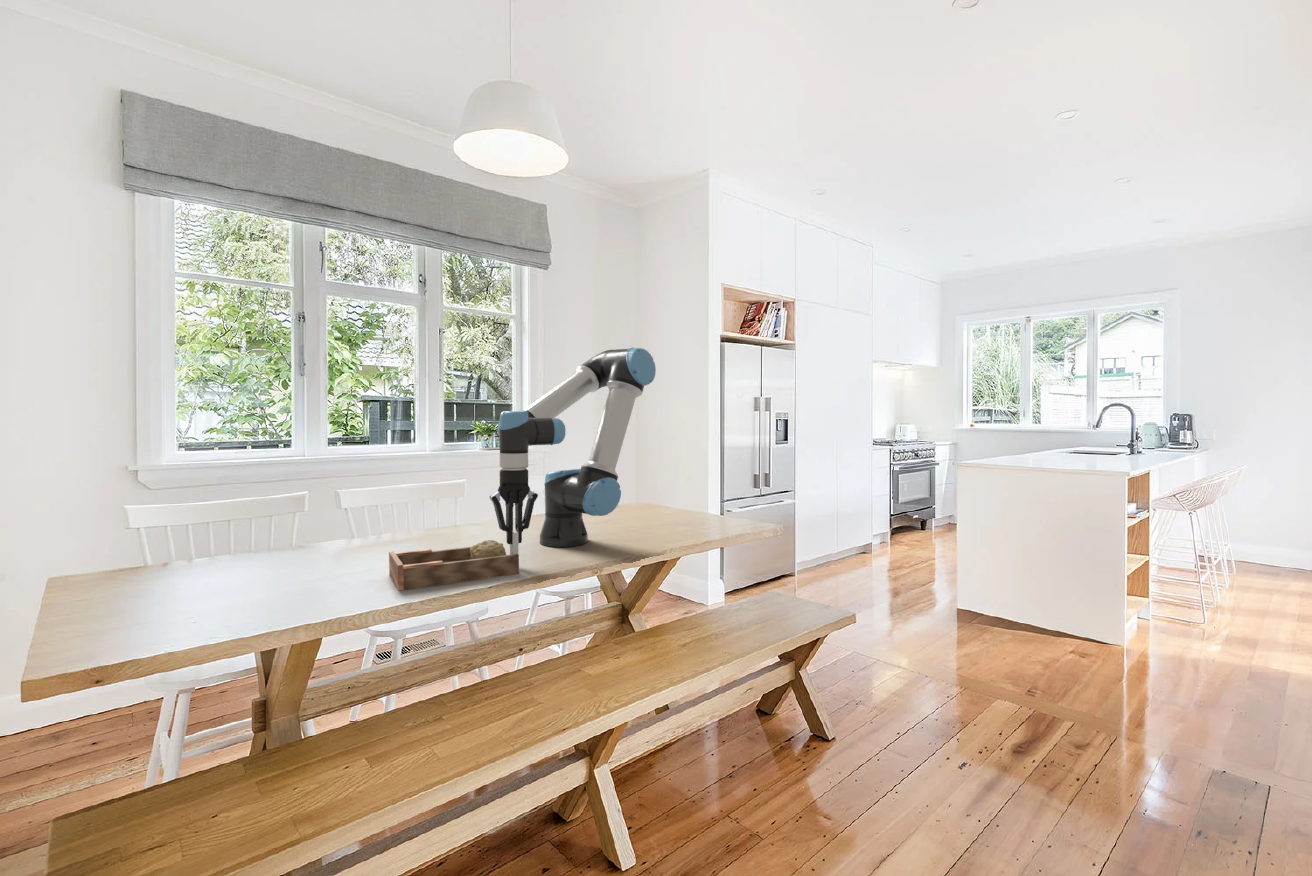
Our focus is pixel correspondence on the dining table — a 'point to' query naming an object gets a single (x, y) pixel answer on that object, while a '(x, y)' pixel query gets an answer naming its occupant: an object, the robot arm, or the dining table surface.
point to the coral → (487, 550)
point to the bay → (446, 567)
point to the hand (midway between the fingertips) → (514, 555)
